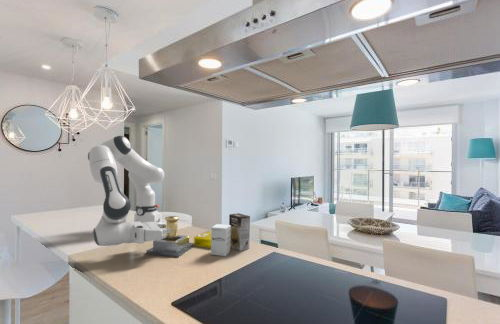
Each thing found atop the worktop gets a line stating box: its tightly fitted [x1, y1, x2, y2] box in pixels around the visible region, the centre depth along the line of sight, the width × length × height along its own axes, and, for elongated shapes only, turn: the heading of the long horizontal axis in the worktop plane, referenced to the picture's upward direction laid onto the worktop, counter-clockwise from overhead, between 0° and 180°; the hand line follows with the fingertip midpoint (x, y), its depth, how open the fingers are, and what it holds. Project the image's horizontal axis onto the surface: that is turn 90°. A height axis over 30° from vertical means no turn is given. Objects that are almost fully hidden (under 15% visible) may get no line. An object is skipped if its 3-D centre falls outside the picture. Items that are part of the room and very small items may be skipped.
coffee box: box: [228, 212, 251, 252], centre depth 127 cm, size 9×6×16 cm
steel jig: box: [146, 234, 195, 258], centre depth 122 cm, size 16×16×6 cm
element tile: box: [193, 230, 211, 249], centre depth 134 cm, size 15×15×5 cm
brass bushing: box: [164, 215, 180, 241], centre depth 122 cm, size 6×6×14 cm
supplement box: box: [210, 223, 231, 257], centre depth 118 cm, size 7×7×13 cm
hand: (168, 228), depth 120 cm, fingers open, 8 cm apart
